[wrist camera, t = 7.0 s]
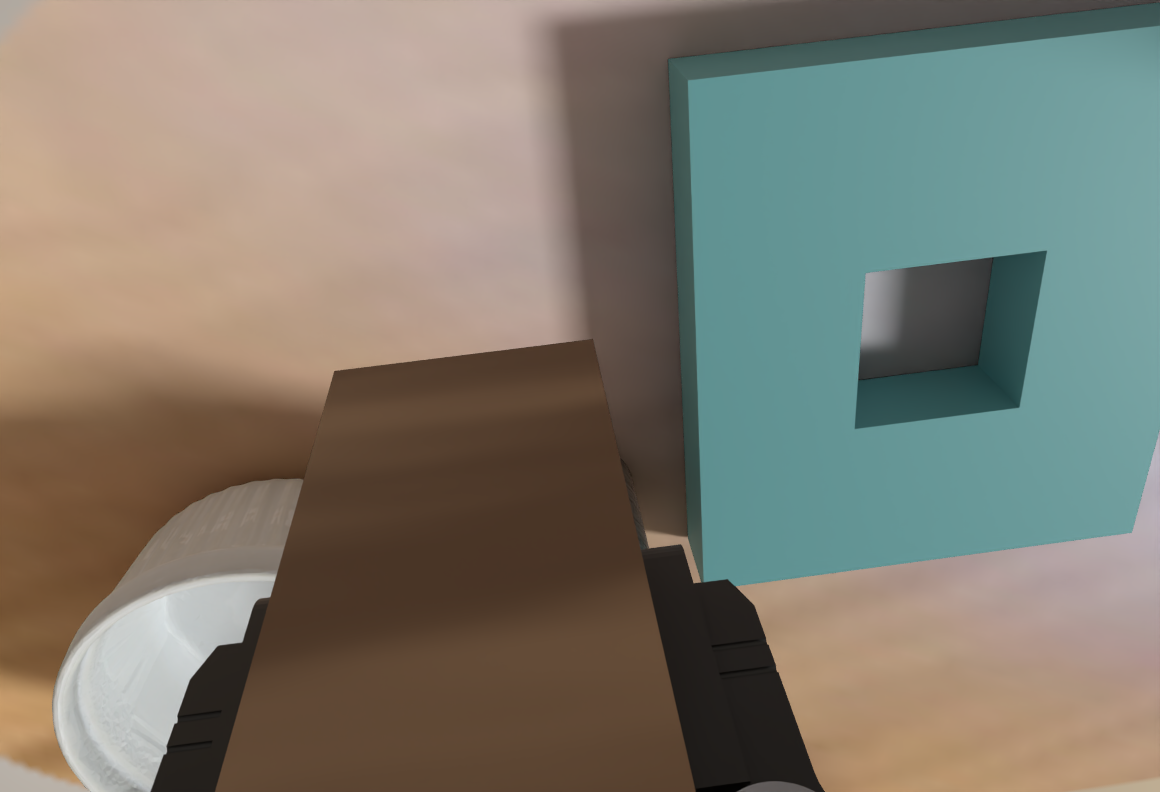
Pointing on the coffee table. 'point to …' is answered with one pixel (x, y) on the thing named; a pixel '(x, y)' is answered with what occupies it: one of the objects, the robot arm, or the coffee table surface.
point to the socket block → (910, 239)
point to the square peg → (461, 595)
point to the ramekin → (166, 631)
